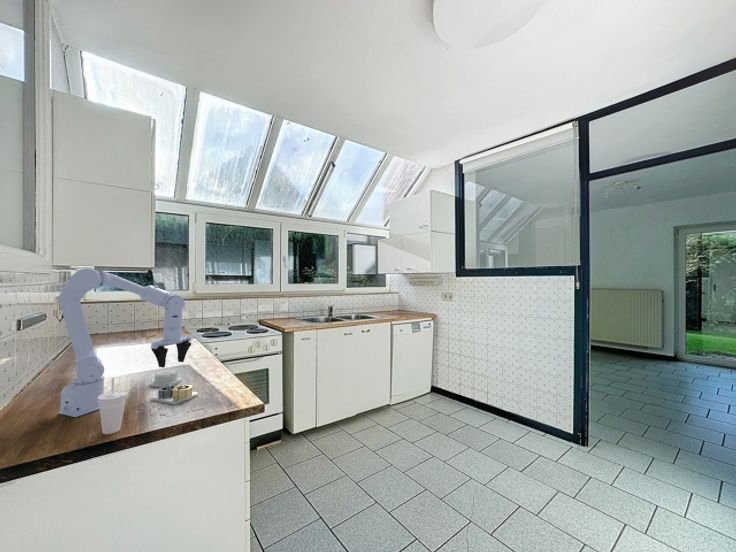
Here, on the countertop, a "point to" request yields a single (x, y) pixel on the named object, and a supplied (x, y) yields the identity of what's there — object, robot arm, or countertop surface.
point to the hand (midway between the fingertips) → (171, 364)
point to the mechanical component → (165, 378)
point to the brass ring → (182, 392)
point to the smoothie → (112, 409)
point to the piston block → (170, 395)
